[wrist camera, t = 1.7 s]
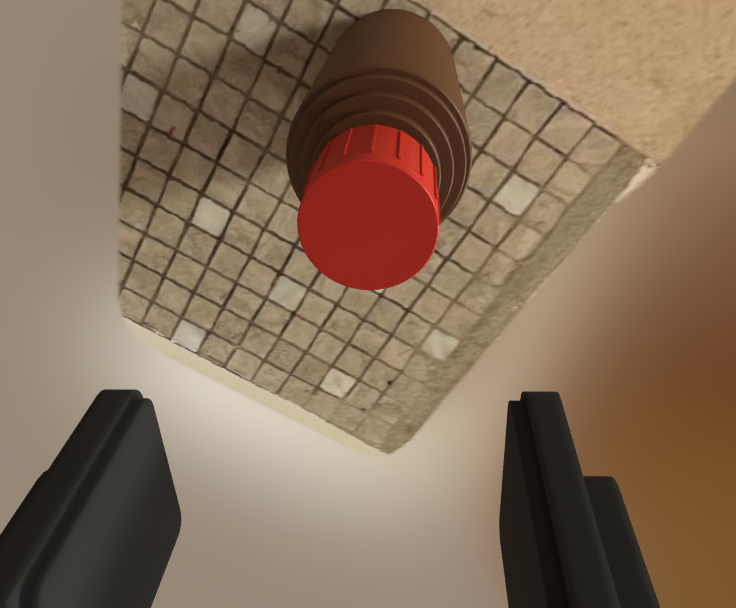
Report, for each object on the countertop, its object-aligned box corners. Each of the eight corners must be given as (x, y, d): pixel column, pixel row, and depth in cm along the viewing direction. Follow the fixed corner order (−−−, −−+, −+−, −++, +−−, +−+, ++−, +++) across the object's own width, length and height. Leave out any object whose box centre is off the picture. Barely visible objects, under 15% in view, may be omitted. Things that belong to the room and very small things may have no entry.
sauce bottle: (305, 90, 35) (214, 241, 20) (377, -20, 32) (338, 54, 17) (404, 162, 37) (392, 353, 21) (481, 62, 34) (533, 200, 18)
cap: (288, 196, 22) (269, 241, 19) (359, 96, 20) (349, 128, 17) (387, 263, 23) (383, 315, 20) (463, 173, 21) (470, 215, 18)
